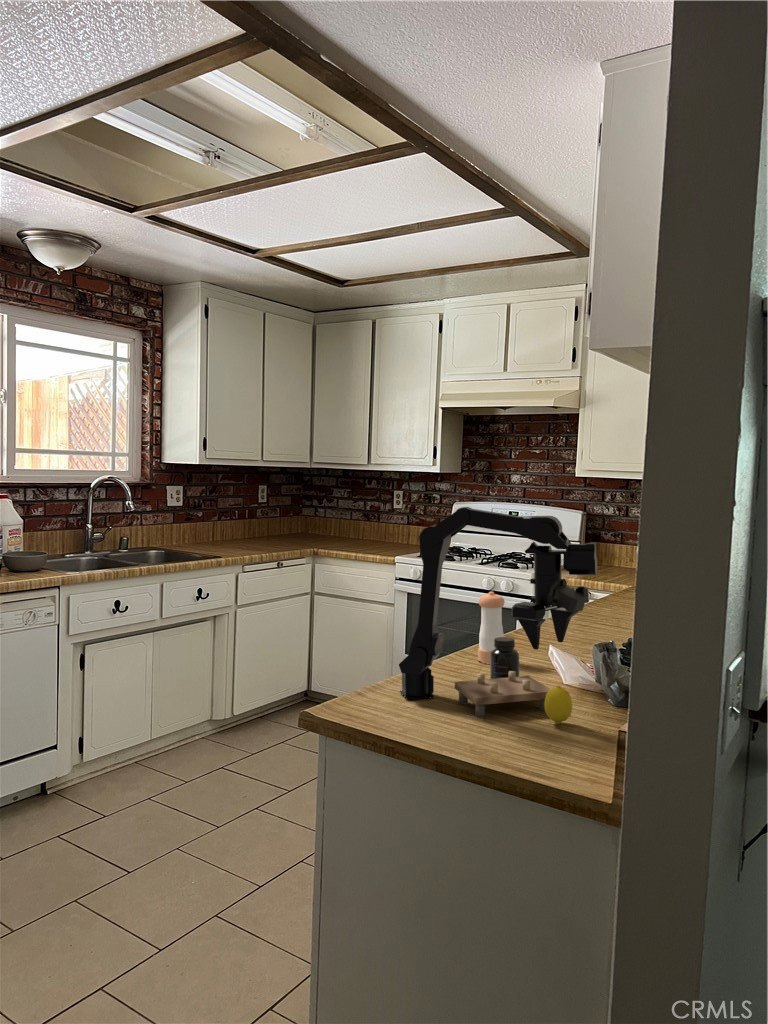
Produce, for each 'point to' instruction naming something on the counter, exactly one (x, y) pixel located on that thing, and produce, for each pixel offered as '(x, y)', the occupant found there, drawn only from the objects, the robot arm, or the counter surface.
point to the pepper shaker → (489, 624)
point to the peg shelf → (500, 691)
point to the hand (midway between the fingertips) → (548, 645)
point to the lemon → (558, 704)
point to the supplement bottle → (504, 658)
